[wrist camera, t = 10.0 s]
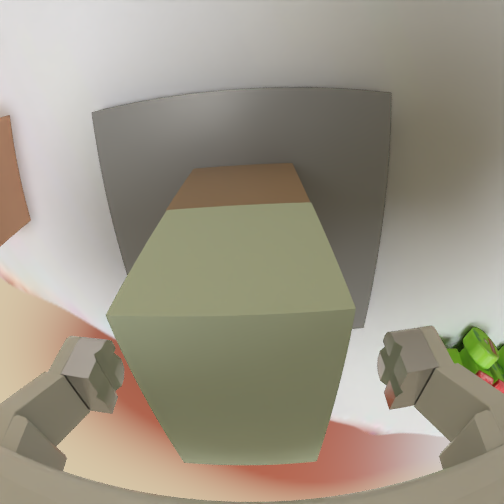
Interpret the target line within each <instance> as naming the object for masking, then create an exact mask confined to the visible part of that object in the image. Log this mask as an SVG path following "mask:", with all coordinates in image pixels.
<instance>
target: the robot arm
mask: <svg viewBox="0 0 504 504" xmlns="http://www.w3.org/2000/svg"><path fill="white" fill-rule="evenodd" d="M383 343H384V345H385V347H384V348H383V349H382V350H381V351H380V352H379V356H378V362H377V369H378V375H379V378H380V381H382V382H383V383H384V384H385V385H387V386H386V389H385V391H384V394H385V397H386V400H387V404H388V407H389V410H390V409H396V408H402V407H407V406H412V405H415V406H414V407H415V408H416V409H417V410H418V411H419V412H420V413H421V414H422V415H423V416H424V417H425V418H426V419H427V420H429V421H430V422H431V423H432V424H433V425H434V426H435V427H436V428H437V429H438V430H439V431H440V432H441V433H442V434H443V435H444V436H445V437H446V438H447V439H448V440H449V441H450V442H451V443H450V444H449V445H448V446H447V447H446V448H445V449H444V450H443V451H442V452H441V454H440V456H439V457H440V461H441V464H442V468H443V470H441V471H438V472H435V473H432V474H429V475H426V476H423V477H419V478H416V479H413V480H409V481H406V482H402V483H398V484H394V485H390V486H386V487H382V488H377V489H372V490H368V491H363V492H357V493H352V494H346V495H339V496H333V497H325V498H316V499H306V500H296V501H295V500H294V501H279V502H222V501H207V500H195V499H185V498H176V497H169V496H162V495H156V494H150V493H144V492H139V491H134V490H129V489H125V488H120V487H115V486H112V485H108V484H103V483H100V482H96V481H93V480H89V479H85V478H82V477H79V476H76V475H73V474H70V473H67V472H64V471H63V469H64V466H65V462H66V456H65V454H63V453H62V452H61V451H60V450H59V449H58V448H57V447H56V446H57V445H58V444H59V443H60V442H61V441H62V440H63V439H64V438H65V437H66V436H67V435H68V434H69V432H71V430H72V429H74V428H75V427H76V426H77V424H79V422H80V421H81V420H82V419H83V418H84V417H85V416H86V415H87V414H88V413H89V412H90V410H91V411H98V412H104V413H113V410H114V407H115V404H116V401H117V398H118V396H117V394H116V390H117V389H118V388H119V387H121V385H122V383H123V380H124V366H123V363H122V360H121V358H119V357H118V356H117V355H116V354H115V353H114V351H115V346H114V344H113V343H112V341H110V340H103V339H95V338H86V337H76V336H69V337H68V338H67V339H66V340H65V342H64V344H63V345H62V347H61V349H60V351H59V353H58V354H57V356H56V358H55V360H54V362H53V364H52V366H51V368H50V369H49V371H48V372H44V373H42V374H41V375H39V376H38V377H37V378H35V379H34V380H33V381H31V382H30V383H28V384H27V385H26V386H24V387H23V388H21V389H20V390H19V391H17V392H16V393H14V394H13V395H12V396H10V397H9V398H8V399H6V400H5V401H4V402H2V403H1V404H0V504H504V394H503V393H502V392H500V391H499V390H498V389H496V388H495V387H493V386H492V385H490V384H489V383H487V382H486V381H484V380H483V379H481V378H480V377H478V376H477V375H475V374H474V373H472V372H471V371H469V370H468V369H466V368H465V367H463V366H462V365H460V364H459V363H456V364H454V362H453V360H452V359H451V357H450V355H449V353H448V351H447V349H446V347H445V345H444V344H443V342H442V340H441V338H440V336H439V335H438V333H437V331H436V329H435V328H434V327H433V326H432V325H431V326H425V327H419V328H412V329H405V330H398V331H391V332H387V333H386V335H385V337H384V340H383Z"/></svg>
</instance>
